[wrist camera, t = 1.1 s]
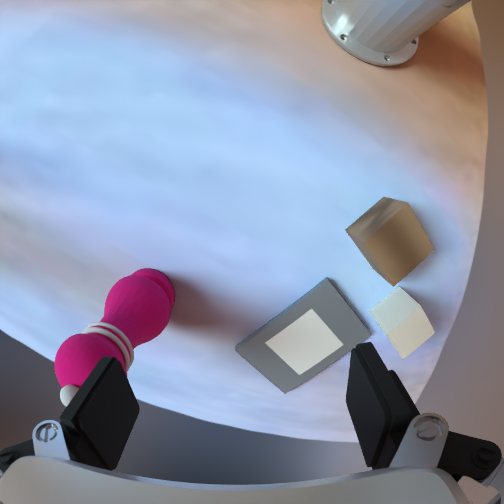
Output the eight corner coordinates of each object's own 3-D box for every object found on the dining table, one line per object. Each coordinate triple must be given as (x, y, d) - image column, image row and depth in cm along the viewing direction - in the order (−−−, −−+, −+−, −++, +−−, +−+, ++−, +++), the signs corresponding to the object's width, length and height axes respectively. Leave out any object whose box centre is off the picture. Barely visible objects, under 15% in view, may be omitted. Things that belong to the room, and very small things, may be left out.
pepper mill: (166, 328, 35) (105, 452, 16) (117, 301, 34) (27, 402, 15) (188, 282, 33) (122, 403, 14) (135, 253, 32) (25, 341, 13)
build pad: (326, 277, 33) (328, 280, 32) (368, 330, 35) (371, 334, 34) (235, 345, 36) (235, 350, 34) (284, 389, 37) (285, 394, 36)
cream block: (398, 285, 33) (420, 305, 28) (413, 311, 34) (435, 332, 29) (368, 311, 34) (386, 335, 28) (385, 334, 35) (403, 359, 29)
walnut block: (383, 196, 31) (408, 202, 25) (408, 236, 32) (434, 249, 26) (344, 229, 32) (363, 242, 26) (372, 268, 33) (393, 286, 27)
